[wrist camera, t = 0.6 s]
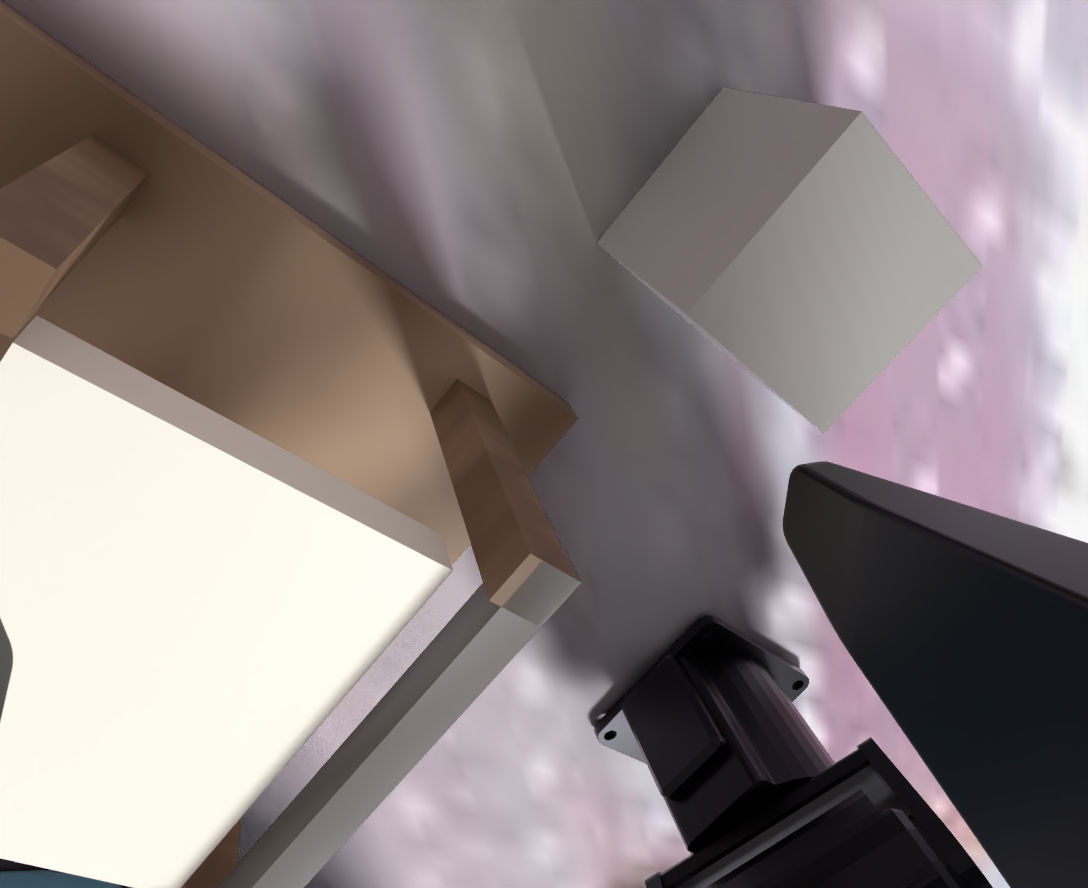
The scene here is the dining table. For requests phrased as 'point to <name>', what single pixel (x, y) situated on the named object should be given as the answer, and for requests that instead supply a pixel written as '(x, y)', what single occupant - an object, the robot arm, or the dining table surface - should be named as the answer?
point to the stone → (793, 246)
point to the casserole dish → (49, 880)
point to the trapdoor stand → (282, 387)
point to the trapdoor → (170, 612)
